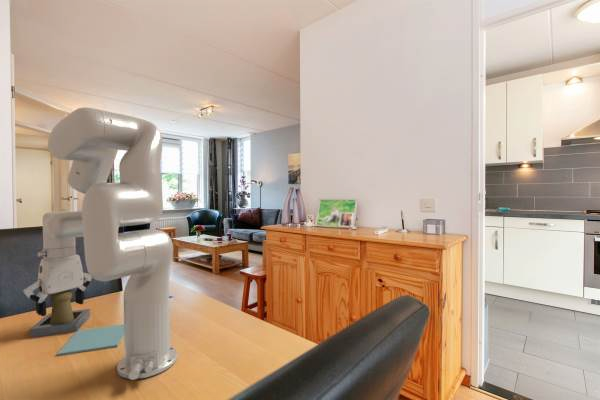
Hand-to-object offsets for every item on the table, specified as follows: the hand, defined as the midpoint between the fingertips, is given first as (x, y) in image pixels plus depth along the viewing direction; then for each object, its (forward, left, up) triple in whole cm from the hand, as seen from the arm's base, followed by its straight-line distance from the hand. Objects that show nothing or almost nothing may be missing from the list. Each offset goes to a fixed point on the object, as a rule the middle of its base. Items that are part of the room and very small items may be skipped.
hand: (61, 309), depth 89 cm
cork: (0, 0, -6) cm, 6 cm away
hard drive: (+15, -23, -6) cm, 28 cm away
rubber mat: (-13, -13, -5) cm, 18 cm away
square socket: (0, 0, -5) cm, 5 cm away
